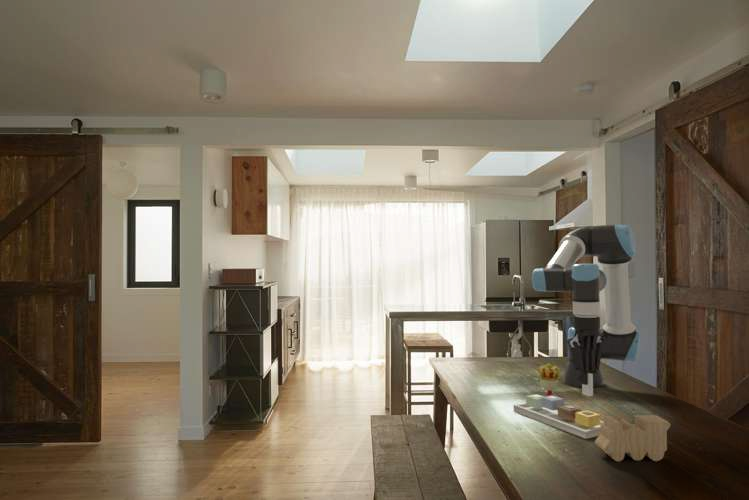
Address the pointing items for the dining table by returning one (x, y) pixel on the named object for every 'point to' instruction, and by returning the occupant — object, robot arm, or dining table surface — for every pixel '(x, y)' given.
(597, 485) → the dining table surface
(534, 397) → the key
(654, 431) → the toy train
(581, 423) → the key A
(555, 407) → the blue square block
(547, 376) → the toy
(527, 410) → the base
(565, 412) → the key
